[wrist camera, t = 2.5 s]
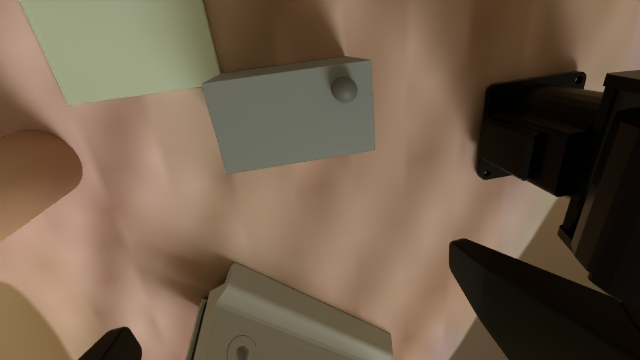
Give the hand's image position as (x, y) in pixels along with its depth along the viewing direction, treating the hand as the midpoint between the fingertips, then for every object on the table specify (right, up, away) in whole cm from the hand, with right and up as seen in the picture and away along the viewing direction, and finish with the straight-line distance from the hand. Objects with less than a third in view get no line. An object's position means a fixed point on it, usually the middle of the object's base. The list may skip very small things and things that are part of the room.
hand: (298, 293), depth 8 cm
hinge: (-2, -10, +17) cm, 20 cm away
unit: (-1, +8, +9) cm, 12 cm away
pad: (-9, +12, +6) cm, 16 cm away
